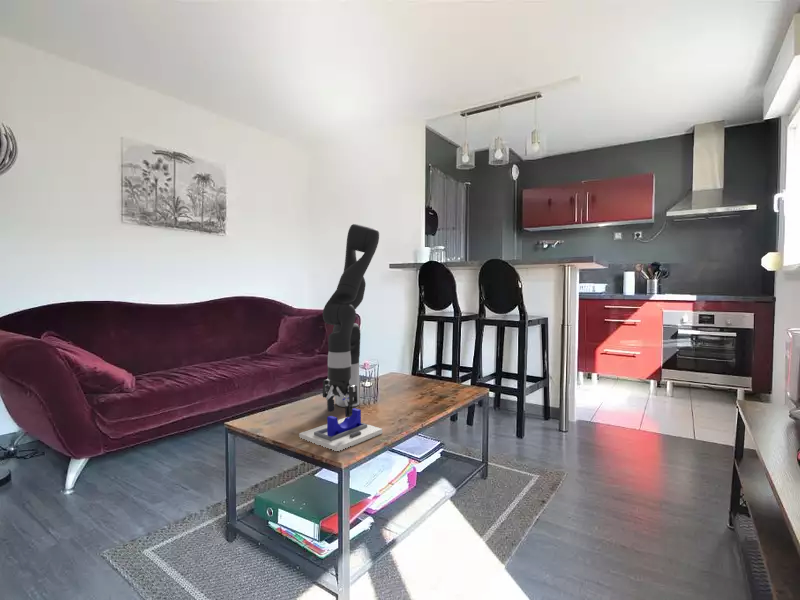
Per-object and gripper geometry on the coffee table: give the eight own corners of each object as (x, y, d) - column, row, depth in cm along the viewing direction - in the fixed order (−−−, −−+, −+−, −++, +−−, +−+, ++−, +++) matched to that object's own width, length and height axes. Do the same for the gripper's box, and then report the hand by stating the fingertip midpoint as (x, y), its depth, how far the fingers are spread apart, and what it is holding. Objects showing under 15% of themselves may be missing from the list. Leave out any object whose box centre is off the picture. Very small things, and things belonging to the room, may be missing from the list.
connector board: (299, 437, 136) (299, 430, 136) (344, 421, 151) (344, 415, 151) (337, 452, 124) (337, 443, 124) (382, 433, 140) (382, 425, 140)
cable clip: (351, 424, 144) (351, 407, 144) (360, 427, 141) (360, 409, 141) (324, 434, 135) (324, 415, 134) (333, 437, 132) (333, 418, 132)
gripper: (363, 365, 135) (363, 415, 136) (333, 360, 144) (333, 406, 145) (345, 369, 129) (345, 421, 130) (316, 363, 138) (316, 412, 139)
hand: (339, 413), depth 138 cm, fingers open, 8 cm apart
